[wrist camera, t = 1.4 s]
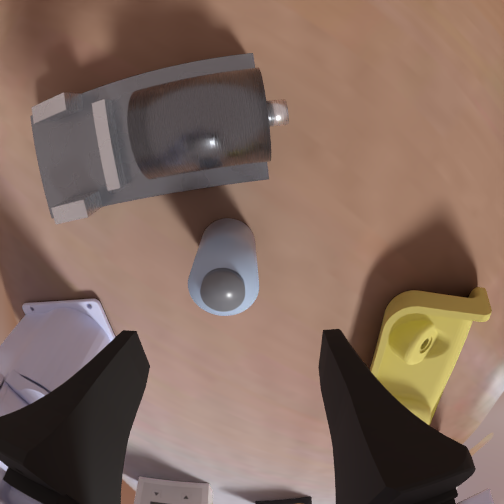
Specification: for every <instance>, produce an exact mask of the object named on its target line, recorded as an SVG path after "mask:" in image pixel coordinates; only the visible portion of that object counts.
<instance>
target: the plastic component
mask: <svg viewBox="0 0 504 504" xmlns="http://www.w3.org/2000/svg"><path fill="white" fill-rule="evenodd" d="M491 311H492V310H491V306H490V303H489V299H488V296H487V292H486V289H485V288H480V287H476V288H474V289H473V290H472V291H471V293H470V295H469V297H468V298H465V297H458V296H451V295H445V294H438V293H431V292H424V291H418V290H411V291H406V292H403V293H401V294H399V295H397V296H396V297H394V298H393V299H392V300H391V301H390V303H389V304H388V306H387V308H386V310H385V313H384V318H383V322H382V326H381V330H380V334H379V338H378V342H377V346H376V349H375V353H374V357H373V360H372V364H371V367H370V371H371V372H372V373H373V375H374V376H375V377H376V378H377V379H378V380H379V381H380V383H381V384H382V385H383V386H384V387H385V388H386V389H387V390H388V391H389V392H390V393H391V394H392V395H393V396H394V397H395V398H396V399H397V400H398V401H399V402H400V403H401V404H403V405H404V406H405V407H406V408H407V409H408V410H409V411H411V412H412V413H413V414H414V415H416V416H417V417H418V418H420V419H421V420H422V421H424V422H425V423H427V424H428V425H429V426H430V423H431V421H432V418H433V416H434V413H435V411H436V408H437V405H438V403H439V400H440V398H441V395H442V393H443V390H444V387H445V385H446V383H447V381H448V379H449V377H450V375H451V373H452V370H453V368H454V366H455V364H456V361H457V359H458V357H459V355H460V352H461V350H462V347H463V345H464V342H465V340H466V337H467V335H468V332H469V329H470V327H471V324H472V321H478V322H485V321H487V320H488V319H489V317H490V315H491Z"/></svg>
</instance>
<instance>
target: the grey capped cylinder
mask: <svg viewBox="0 0 504 504" xmlns="http://www.w3.org/2000/svg"><path fill="white" fill-rule="evenodd" d="M188 289H189V293H190V295H191V297H192V299H193V300H194V302H195V303H196V304H197V305H198V306H199V307H200V308H202V309H203V310H205V311H207V312H209V313H212V314H215V315H221V316H229V315H235V314H238V313H241V312H243V311H244V310H246V309H247V308H249V307H250V306H251V305H252V304H253V303H254V301H255V299H256V298H257V295H258V292H259V279H258V268H257V256H256V245H255V238H254V235H253V233H252V231H251V229H250V228H249V227H248V226H247V225H246V224H244V223H243V222H241V221H239V220H236V219H231V218H224V219H220V220H217V221H215V222H213V223H211V224H210V225H209V226H208V227H207V228H206V230H205V231H204V233H203V236H202V239H201V242H200V245H199V248H198V251H197V254H196V257H195V260H194V263H193V266H192V269H191V272H190V275H189V279H188Z"/></svg>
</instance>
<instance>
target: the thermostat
mask: <svg viewBox="0 0 504 504" xmlns="http://www.w3.org/2000/svg"><path fill="white" fill-rule="evenodd" d="M134 504H213V490H212V488H211V486H210V484H209V483H193V482H180V481H170V480H162V479H154V478H147V477H140V476H139V480H138V485H137V491H136V496H135V501H134Z"/></svg>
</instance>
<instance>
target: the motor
mask: <svg viewBox="0 0 504 504" xmlns="http://www.w3.org/2000/svg"><path fill="white" fill-rule="evenodd" d="M288 122H289V117H288V108H287V103H286V100H285V99H284V100H272V101H266V97H265V90H264V85H263V80H262V76H261V72H260V69H259V68H255V64H254V57H253V53H249V54H240V55H232V56H225V57H218V58H212V59H206V60H200V61H195V62H190V63H185V64H180V65H175V66H171V67H167V68H162V69H158V70H154V71H151V72H147V73H143V74H139V75H136V76H132V77H129V78H126V79H123V80H119V81H116V82H113V83H110V84H107V85H104V86H101V87H98V88H96V89H93V90H90V91H87V92H85V93H82V94H80V93H65V92H64V93H61V94H59V95H57V96H55V97H52V98H50V99H48V100H46V101H44V102H42V103H40V104H38V105H36V106H34V107H32V116H31V124H32V131H33V137H34V143H35V149H36V155H37V160H38V165H39V169H40V174H41V178H42V183H43V187H44V191H45V195H46V199H47V203H48V206H49V210H50V214H51V217H52V218H54V220H55V223H56V224H60V223H64V222H69V221H73V220H78V219H82V218H87V217H89V216H90V215H92V214H93V213H94V212H96V211H97V210H99V209H100V208H101V207H103V206H107V205H112V204H117V203H122V202H127V201H132V200H137V199H142V198H147V197H153V196H158V195H164V194H170V193H175V192H181V191H187V190H194V189H200V188H207V187H213V186H220V185H227V184H235V183H242V182H250V181H258V180H266V179H269V175H268V166H267V162H269V161H271V140H270V128H269V126H279V125H288Z"/></svg>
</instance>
